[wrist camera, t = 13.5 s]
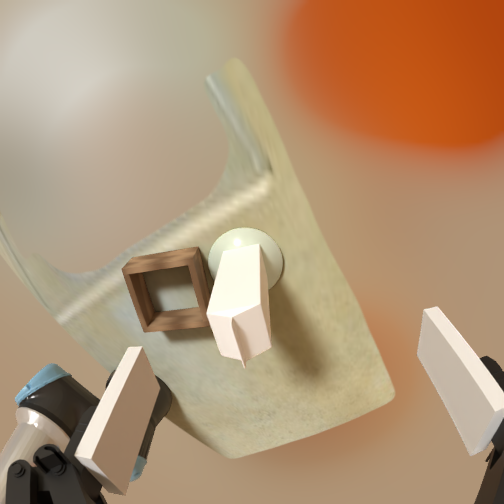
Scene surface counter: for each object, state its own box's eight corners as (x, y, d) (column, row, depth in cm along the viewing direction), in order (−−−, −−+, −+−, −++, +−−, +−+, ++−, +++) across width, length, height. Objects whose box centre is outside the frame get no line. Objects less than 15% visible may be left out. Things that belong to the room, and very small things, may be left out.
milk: (232, 283, 54) (217, 374, 33) (222, 250, 51) (199, 330, 31) (268, 276, 53) (273, 366, 32) (260, 242, 51) (260, 319, 30)
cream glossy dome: (217, 299, 55) (216, 301, 55) (201, 233, 51) (201, 234, 51) (286, 289, 54) (287, 291, 54) (276, 221, 50) (277, 222, 50)
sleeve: (151, 317, 57) (144, 332, 52) (132, 257, 53) (121, 269, 48) (214, 310, 56) (210, 325, 51) (198, 246, 52) (192, 257, 47)
